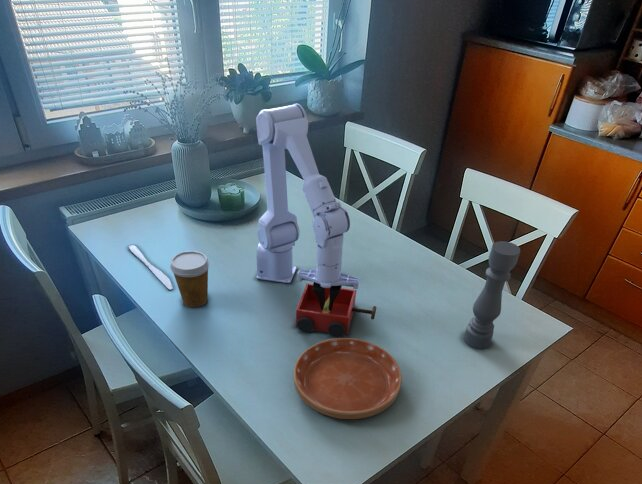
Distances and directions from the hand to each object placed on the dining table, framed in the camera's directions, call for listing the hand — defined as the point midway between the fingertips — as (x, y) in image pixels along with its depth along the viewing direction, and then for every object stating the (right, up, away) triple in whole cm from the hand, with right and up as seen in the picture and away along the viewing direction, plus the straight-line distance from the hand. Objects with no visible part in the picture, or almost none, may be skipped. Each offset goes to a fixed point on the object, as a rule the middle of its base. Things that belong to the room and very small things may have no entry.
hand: (326, 307), depth 127 cm
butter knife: (-48, +13, +18) cm, 53 cm away
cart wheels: (+3, -3, +2) cm, 4 cm away
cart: (0, -2, +2) cm, 3 cm away
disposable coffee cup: (-34, +2, +6) cm, 34 cm away
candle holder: (+36, -8, -3) cm, 37 cm away
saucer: (+4, -18, -15) cm, 24 cm away
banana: (0, -2, +1) cm, 2 cm away
